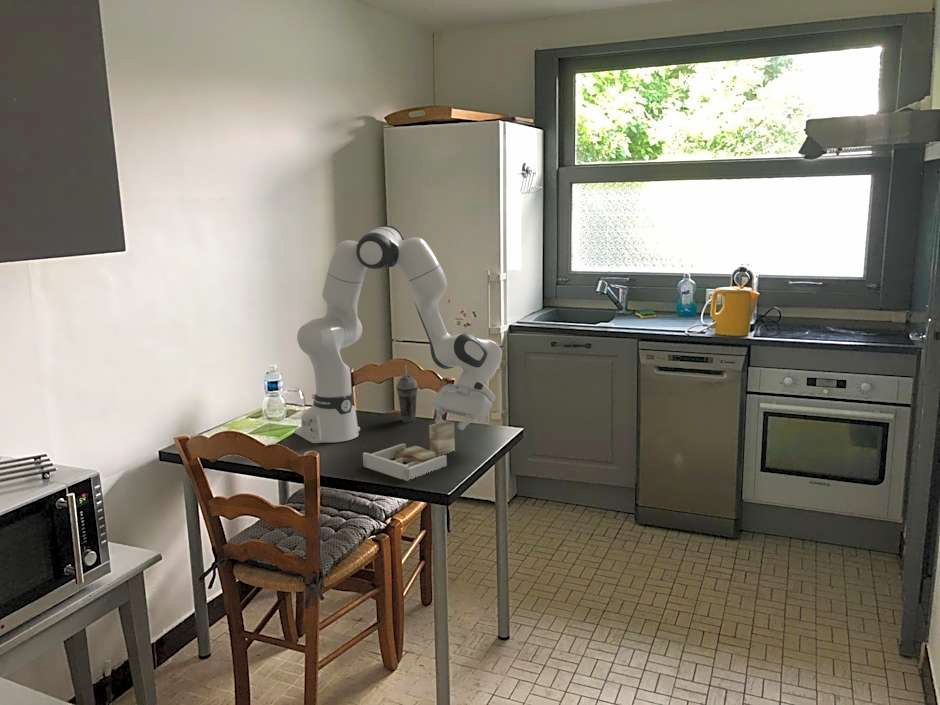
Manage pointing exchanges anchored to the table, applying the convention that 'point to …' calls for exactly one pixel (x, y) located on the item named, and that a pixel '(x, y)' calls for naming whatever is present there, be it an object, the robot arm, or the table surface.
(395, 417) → the table surface
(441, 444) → the pale wooden block
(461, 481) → the table surface
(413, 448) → the offcut stack
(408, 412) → the beverage cup
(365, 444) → the table surface
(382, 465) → the tray
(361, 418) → the table surface
